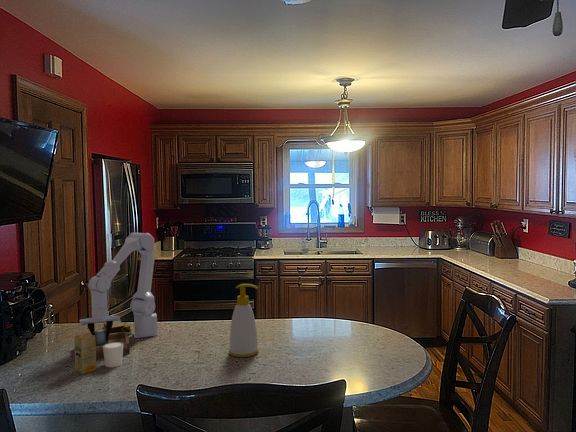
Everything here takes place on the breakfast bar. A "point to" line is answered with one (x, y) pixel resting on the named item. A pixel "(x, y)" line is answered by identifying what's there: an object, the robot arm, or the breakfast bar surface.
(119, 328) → the toy sandwich meal
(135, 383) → the breakfast bar surface
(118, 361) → the white cup
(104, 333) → the peg
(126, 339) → the box with square hole
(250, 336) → the soap bottle
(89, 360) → the shoe polish box
